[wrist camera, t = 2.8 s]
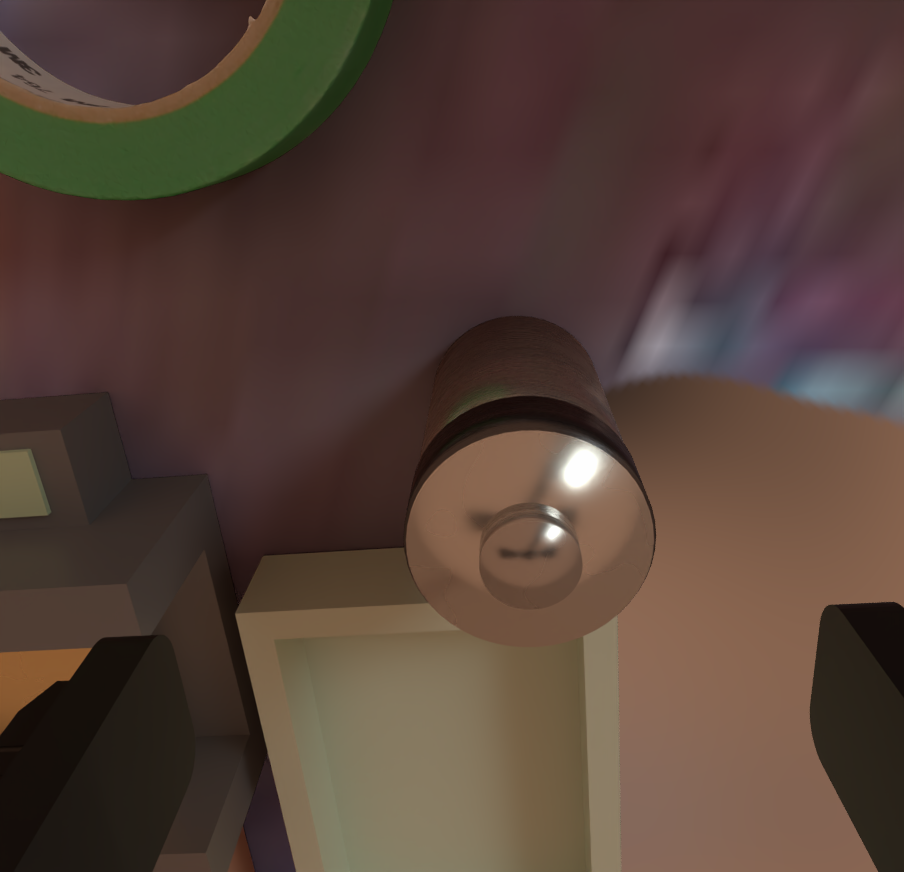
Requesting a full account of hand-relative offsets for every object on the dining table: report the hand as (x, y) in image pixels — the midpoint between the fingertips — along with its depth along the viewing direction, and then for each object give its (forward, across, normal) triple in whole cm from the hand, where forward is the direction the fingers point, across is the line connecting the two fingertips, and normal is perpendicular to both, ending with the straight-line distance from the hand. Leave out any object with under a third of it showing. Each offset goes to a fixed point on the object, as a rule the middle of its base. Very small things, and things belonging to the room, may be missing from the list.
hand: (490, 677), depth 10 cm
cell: (+10, -1, 0) cm, 10 cm away
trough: (+10, +2, +11) cm, 15 cm away
